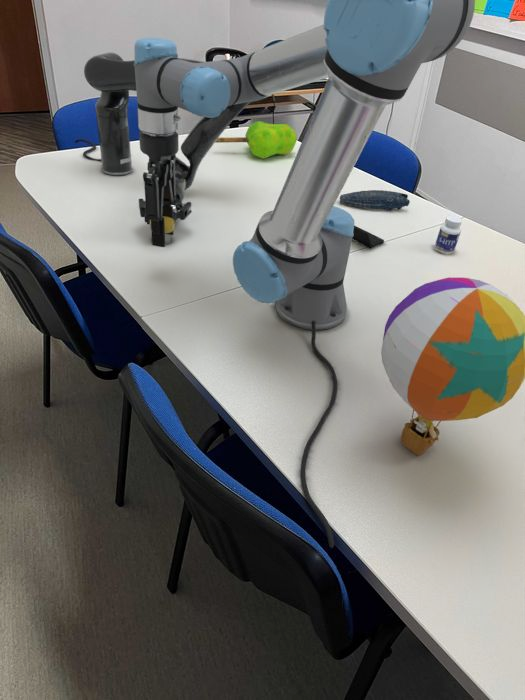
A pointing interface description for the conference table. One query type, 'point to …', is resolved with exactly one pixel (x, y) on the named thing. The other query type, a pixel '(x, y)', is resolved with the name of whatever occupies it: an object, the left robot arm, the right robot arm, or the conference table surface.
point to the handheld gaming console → (366, 238)
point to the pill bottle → (448, 235)
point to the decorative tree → (267, 139)
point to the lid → (167, 224)
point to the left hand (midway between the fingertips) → (159, 221)
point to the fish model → (376, 199)
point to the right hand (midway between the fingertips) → (163, 239)
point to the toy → (453, 354)
